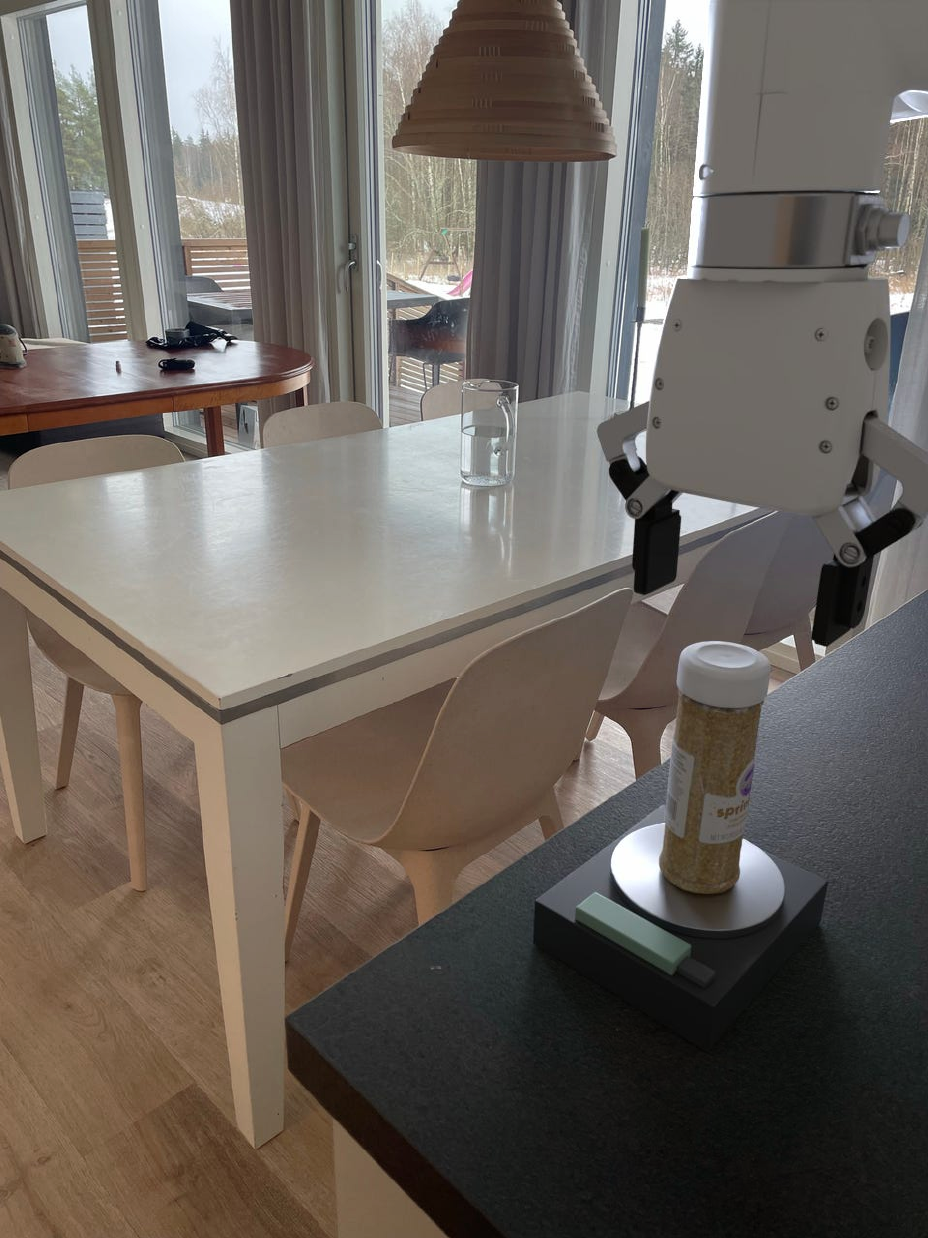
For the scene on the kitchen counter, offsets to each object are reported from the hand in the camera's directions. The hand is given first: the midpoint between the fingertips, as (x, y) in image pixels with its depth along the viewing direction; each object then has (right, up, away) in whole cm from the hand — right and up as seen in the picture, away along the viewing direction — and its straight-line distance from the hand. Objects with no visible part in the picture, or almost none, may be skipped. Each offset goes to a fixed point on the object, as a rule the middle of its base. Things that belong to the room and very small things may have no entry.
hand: (737, 610), depth 47 cm
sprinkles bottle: (-1, -15, +6) cm, 16 cm away
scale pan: (-1, -15, +6) cm, 16 cm away
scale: (-1, -18, +6) cm, 19 cm away
